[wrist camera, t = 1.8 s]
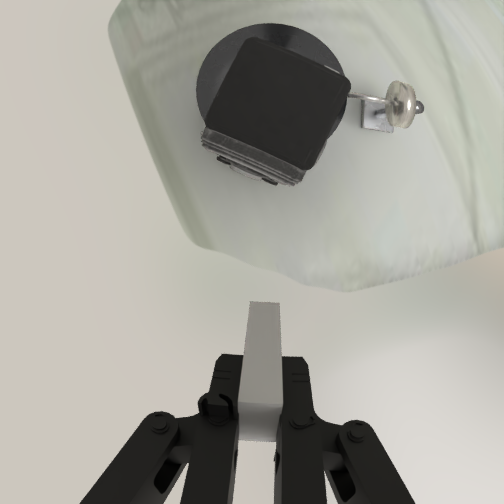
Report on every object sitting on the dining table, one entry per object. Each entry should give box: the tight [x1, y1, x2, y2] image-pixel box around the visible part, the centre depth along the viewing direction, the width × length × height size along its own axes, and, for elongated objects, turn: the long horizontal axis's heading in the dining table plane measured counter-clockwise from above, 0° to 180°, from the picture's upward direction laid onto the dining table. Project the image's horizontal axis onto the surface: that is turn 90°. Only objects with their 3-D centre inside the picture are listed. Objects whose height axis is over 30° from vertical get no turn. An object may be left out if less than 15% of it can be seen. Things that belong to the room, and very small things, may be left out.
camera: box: [201, 37, 351, 186], centre depth 24 cm, size 10×10×15 cm
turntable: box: [196, 23, 347, 139], centre depth 29 cm, size 18×18×1 cm
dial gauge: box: [348, 81, 424, 133], centre depth 24 cm, size 4×8×12 cm, turn 89°
